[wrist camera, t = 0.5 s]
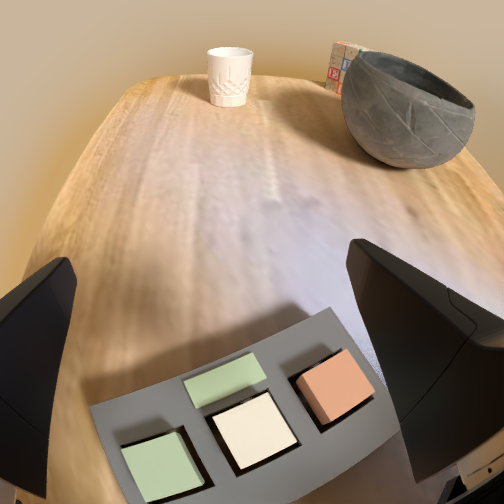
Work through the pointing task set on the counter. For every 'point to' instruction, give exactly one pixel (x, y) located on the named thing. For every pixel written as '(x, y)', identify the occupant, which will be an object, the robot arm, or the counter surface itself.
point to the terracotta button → (334, 386)
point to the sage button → (162, 467)
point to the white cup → (229, 75)
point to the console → (241, 388)
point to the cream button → (254, 430)
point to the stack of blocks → (341, 63)
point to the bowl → (404, 112)
